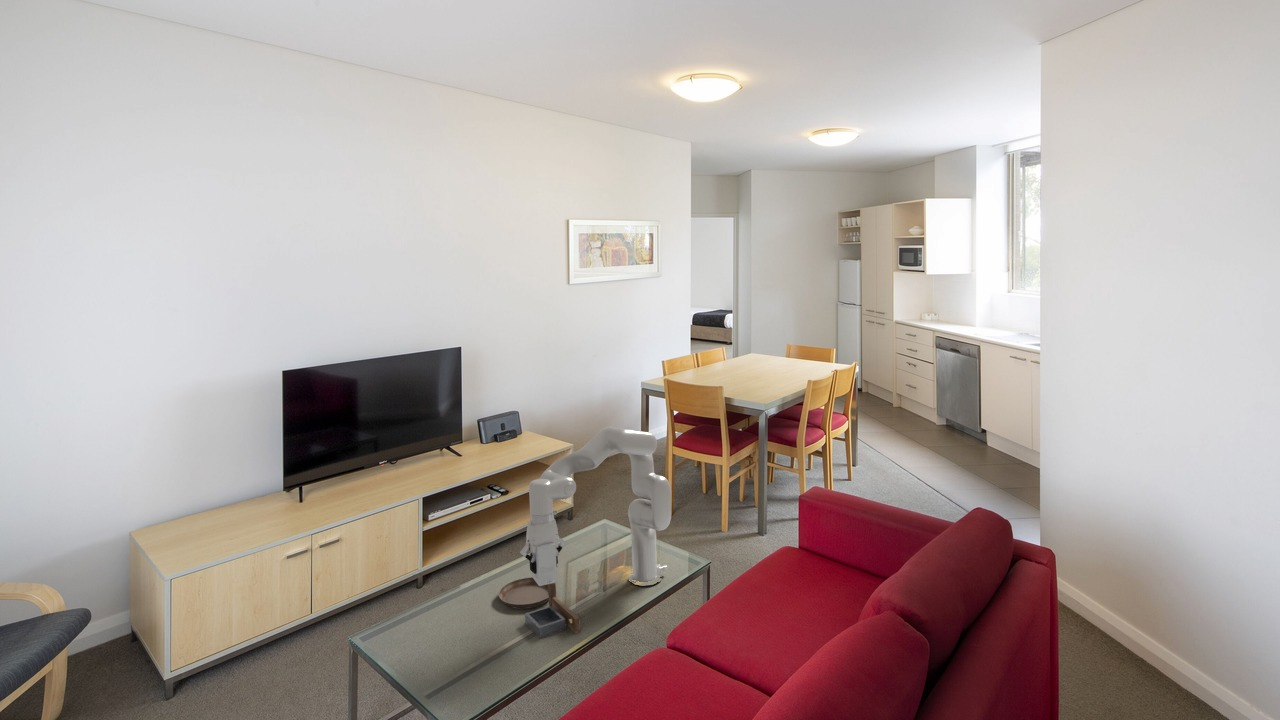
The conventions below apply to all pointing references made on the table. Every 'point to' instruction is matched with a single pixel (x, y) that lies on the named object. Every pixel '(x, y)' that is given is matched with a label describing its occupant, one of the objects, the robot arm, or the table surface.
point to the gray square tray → (545, 621)
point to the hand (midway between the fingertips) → (544, 568)
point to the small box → (545, 564)
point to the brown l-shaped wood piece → (563, 609)
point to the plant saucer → (524, 594)
